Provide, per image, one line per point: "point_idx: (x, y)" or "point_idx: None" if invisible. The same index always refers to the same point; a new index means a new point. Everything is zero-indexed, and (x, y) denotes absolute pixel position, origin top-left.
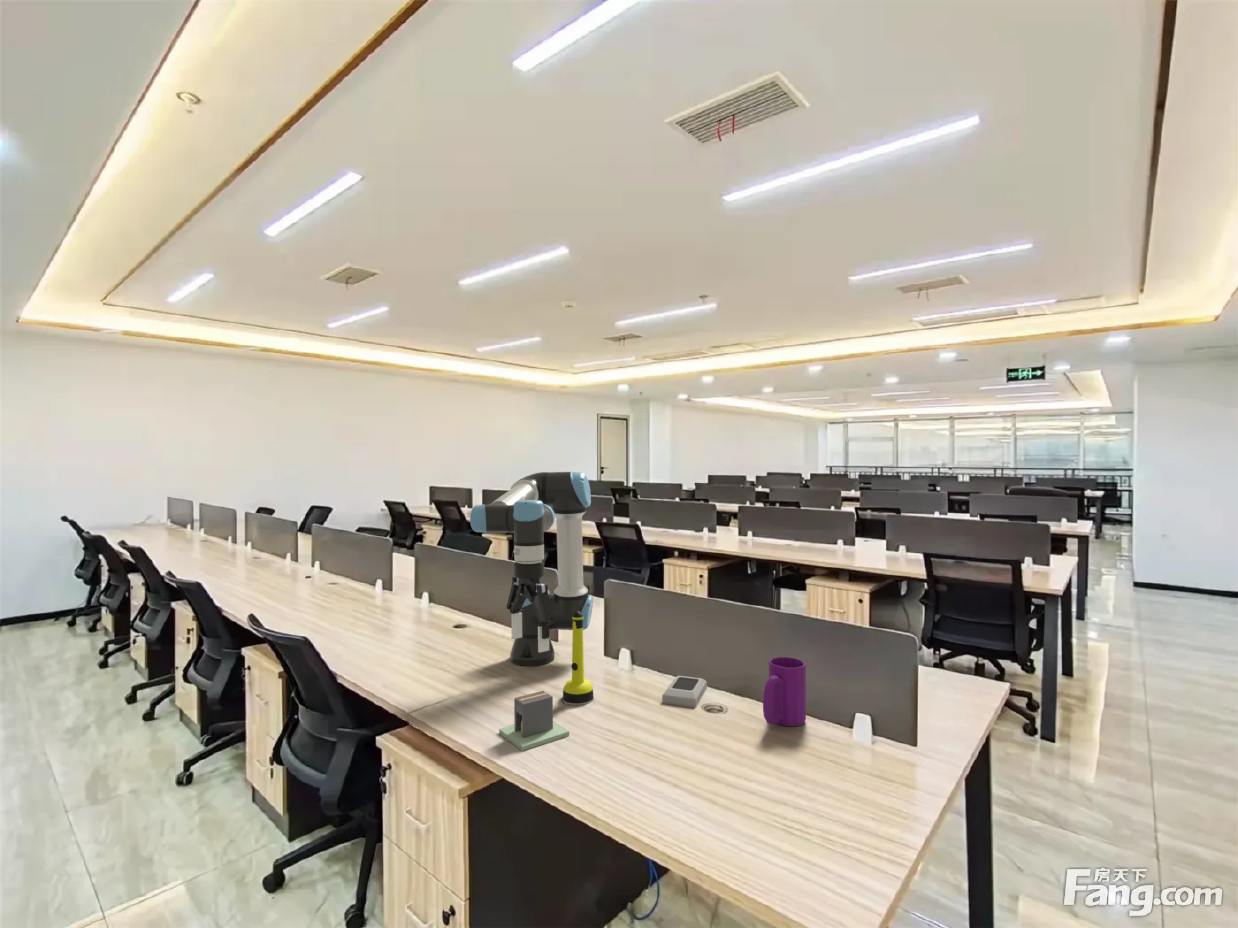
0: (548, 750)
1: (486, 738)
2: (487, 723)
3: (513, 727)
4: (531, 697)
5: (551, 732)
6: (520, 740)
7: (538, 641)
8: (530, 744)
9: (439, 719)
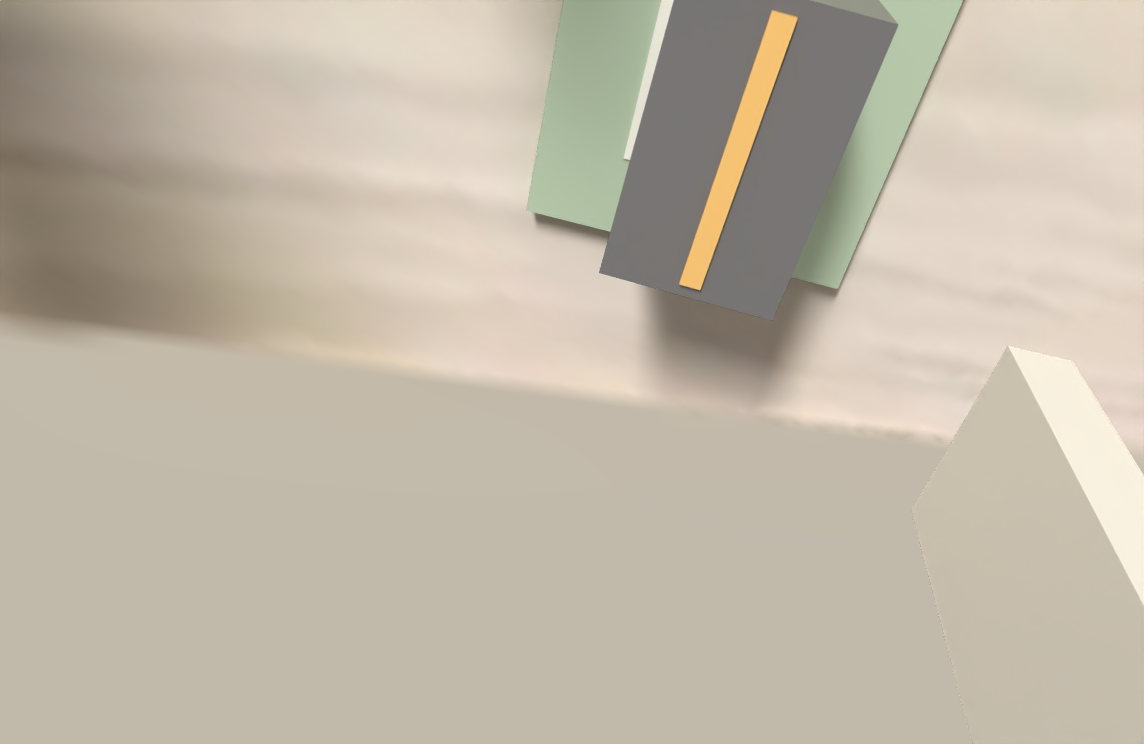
0: (984, 176)
1: (534, 289)
2: (358, 154)
3: (582, 141)
4: (729, 189)
5: None
6: None
7: (970, 680)
8: (859, 236)
9: (134, 287)
